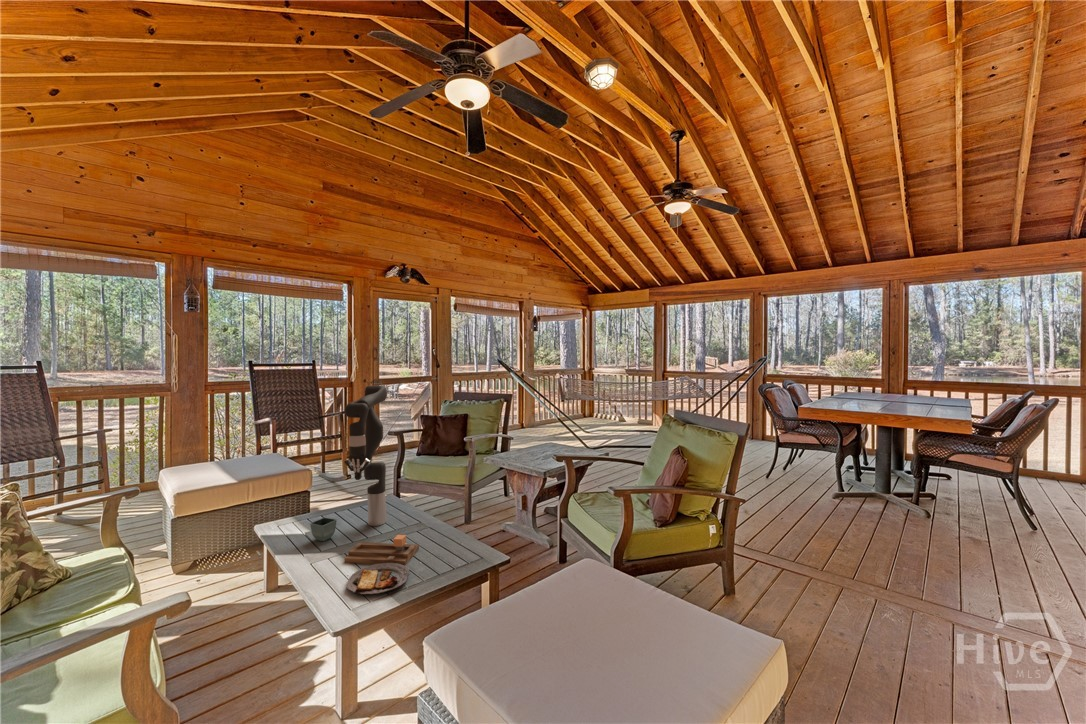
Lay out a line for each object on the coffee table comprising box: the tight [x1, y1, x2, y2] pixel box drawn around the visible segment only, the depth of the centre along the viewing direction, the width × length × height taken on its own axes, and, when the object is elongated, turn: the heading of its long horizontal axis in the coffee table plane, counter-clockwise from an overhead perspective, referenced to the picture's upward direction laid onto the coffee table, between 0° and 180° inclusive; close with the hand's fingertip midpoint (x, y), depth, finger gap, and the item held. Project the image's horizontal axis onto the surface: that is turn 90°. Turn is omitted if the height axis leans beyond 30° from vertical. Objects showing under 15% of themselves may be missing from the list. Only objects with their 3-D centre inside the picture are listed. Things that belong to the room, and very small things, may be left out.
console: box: [344, 541, 420, 566], centre depth 204 cm, size 16×28×4 cm, turn 84°
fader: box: [392, 534, 407, 552], centre depth 203 cm, size 5×4×7 cm
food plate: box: [345, 563, 410, 595], centre depth 181 cm, size 25×23×4 cm
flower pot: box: [309, 516, 337, 542], centre depth 221 cm, size 9×9×9 cm
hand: (358, 479), depth 214 cm, fingers closed
